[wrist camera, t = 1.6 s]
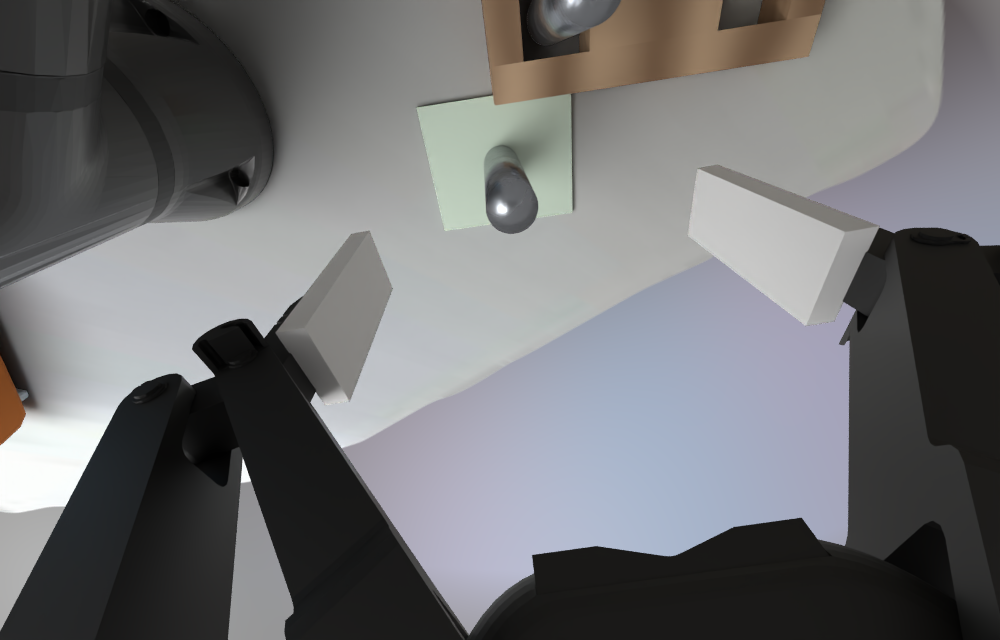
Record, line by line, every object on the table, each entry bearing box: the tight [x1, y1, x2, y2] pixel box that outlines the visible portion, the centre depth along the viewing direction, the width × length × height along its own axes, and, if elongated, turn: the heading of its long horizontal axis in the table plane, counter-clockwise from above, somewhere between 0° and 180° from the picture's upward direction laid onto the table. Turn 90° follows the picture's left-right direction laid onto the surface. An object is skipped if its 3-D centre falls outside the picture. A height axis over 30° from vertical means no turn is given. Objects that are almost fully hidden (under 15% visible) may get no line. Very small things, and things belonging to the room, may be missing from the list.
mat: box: [417, 94, 572, 231], centre depth 30 cm, size 12×10×1 cm
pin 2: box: [527, 0, 621, 46], centre depth 20 cm, size 3×3×12 cm
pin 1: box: [484, 145, 538, 234], centre depth 25 cm, size 3×3×12 cm
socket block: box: [481, 0, 825, 105], centre depth 23 cm, size 22×9×3 cm, turn 98°
